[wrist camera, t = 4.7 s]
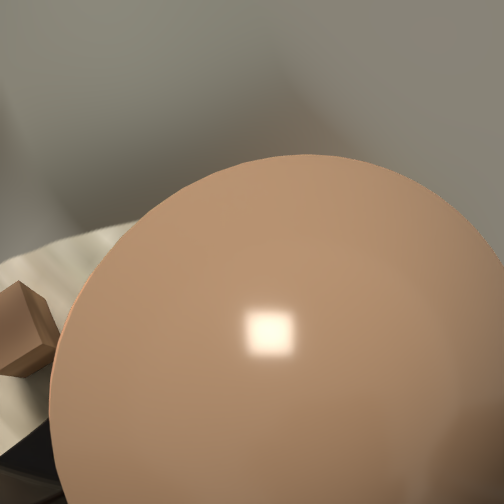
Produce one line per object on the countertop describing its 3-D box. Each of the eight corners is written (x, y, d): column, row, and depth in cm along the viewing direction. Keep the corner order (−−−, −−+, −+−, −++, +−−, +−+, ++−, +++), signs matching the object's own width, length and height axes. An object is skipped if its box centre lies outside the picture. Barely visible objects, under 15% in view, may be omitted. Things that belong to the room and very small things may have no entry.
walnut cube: (69, 352, 17) (42, 343, 14) (25, 378, 16) (-7, 373, 12) (45, 299, 18) (18, 280, 15) (4, 325, 17) (-27, 311, 13)
